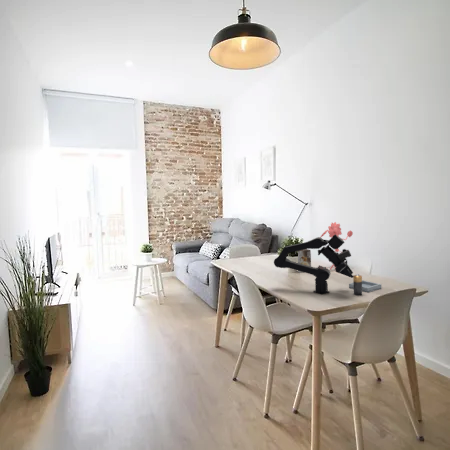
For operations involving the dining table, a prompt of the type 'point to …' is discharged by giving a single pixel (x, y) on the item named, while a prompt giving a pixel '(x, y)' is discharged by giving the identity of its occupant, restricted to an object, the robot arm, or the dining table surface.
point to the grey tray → (368, 286)
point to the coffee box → (304, 257)
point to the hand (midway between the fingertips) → (352, 275)
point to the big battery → (357, 284)
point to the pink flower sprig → (336, 230)
